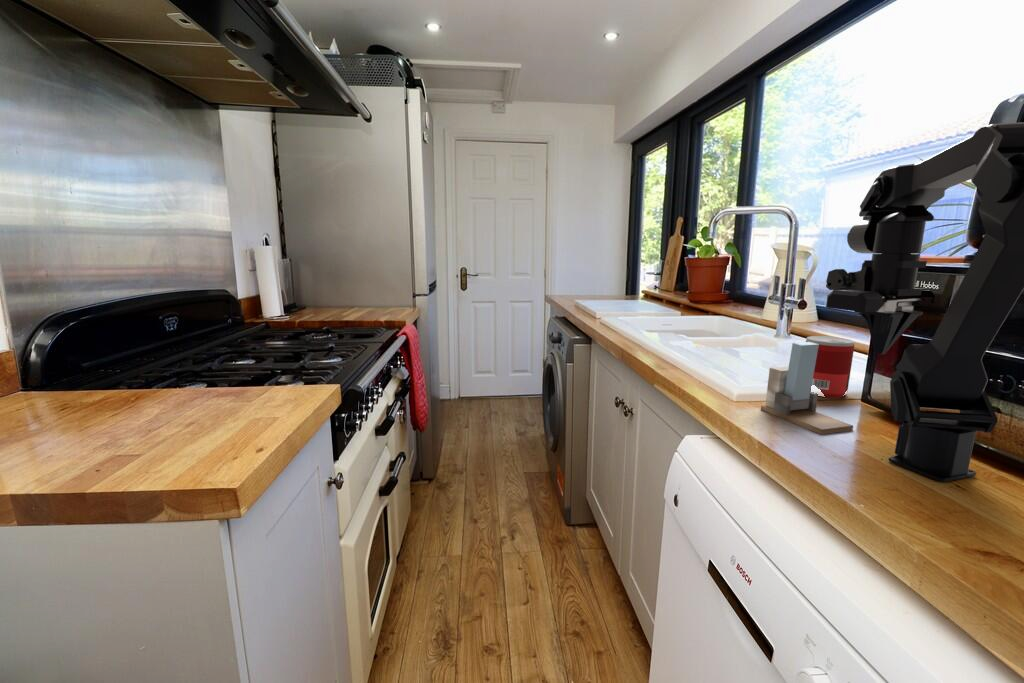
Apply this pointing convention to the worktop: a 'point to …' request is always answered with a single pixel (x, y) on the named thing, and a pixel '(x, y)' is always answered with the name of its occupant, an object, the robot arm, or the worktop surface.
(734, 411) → the worktop surface
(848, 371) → the canned food
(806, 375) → the leg
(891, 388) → the robot arm
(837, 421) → the wooden base block holder
